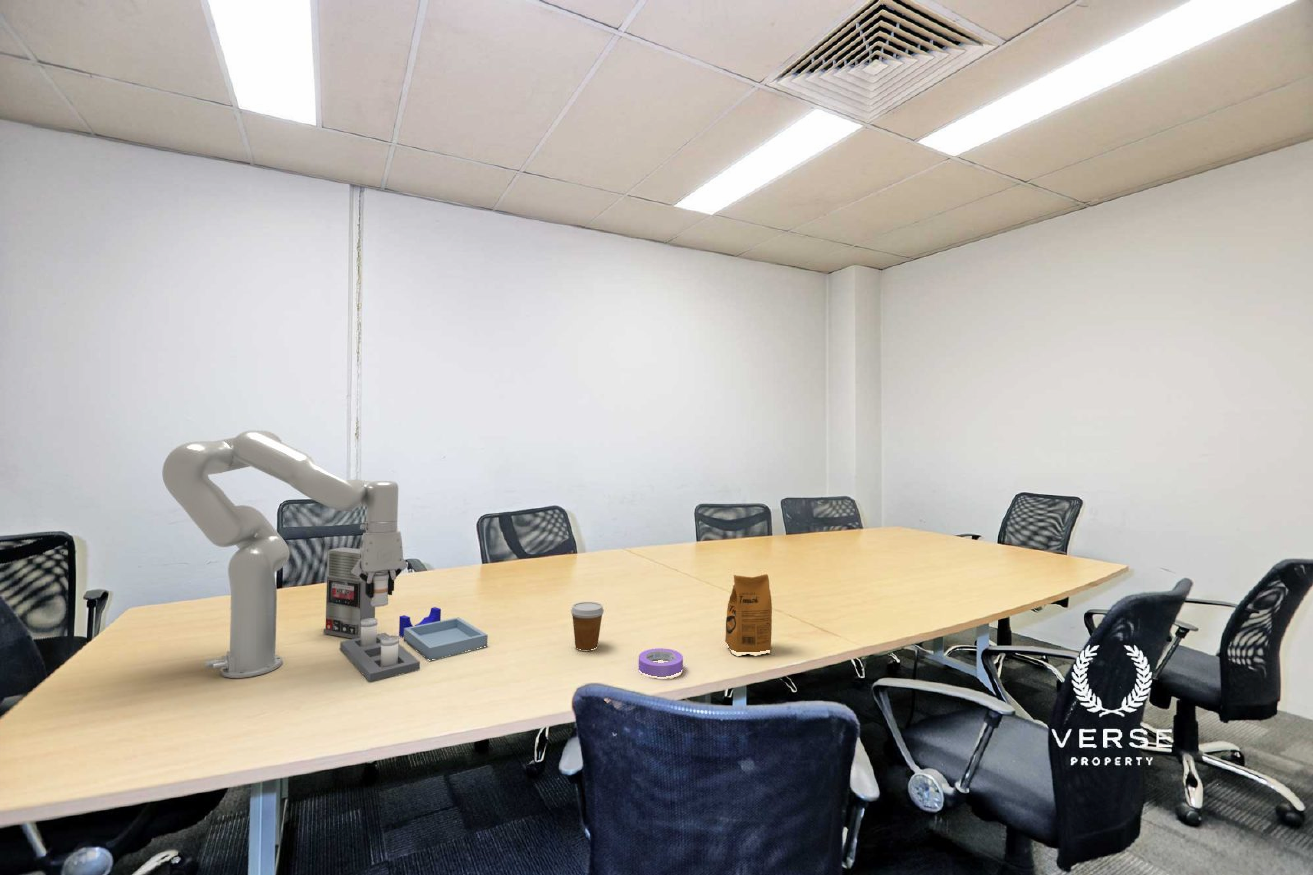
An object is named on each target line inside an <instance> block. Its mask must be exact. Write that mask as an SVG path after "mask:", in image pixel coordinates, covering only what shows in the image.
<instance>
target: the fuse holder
mask: <svg viewBox="0 0 1313 875" xmlns="http://www.w3.org/2000/svg"><path fill="white" fill-rule="evenodd" d="M386 636H390V635H389V634H388V633H387V632H382V633H377V642H376V643H377V644H373V645H369V646H364V647H360V642H361V638H356V639H353V638H350V639H347V640H342V641H340V642H339V644H340V646H339V647H340V648H339V649H340V650H341V651H342V653H343V654H344V655H345V656H346V657H347V659H348V660H349V661H351V663H352V664H353V665H354V664H355V665H354V666H355V668H357V670H360V671H359V672H360V673H361V674H362V673H363V674H362V675H363V676H364V677H365V679H366V680H367V679H368V680H367V681H368V682H369V683H372V682H377V681H380V679H381V680H385V679H389V678H392V676H393V677H397V676H399V674H401V675H403V674H402V673H405V674H408V672H409V673H411V672H412V671H413V672H416V671H415V670H417V671H419V670H418V669H421V666H420V665H421V661H419V660H418V659H417V658H416V657H415V656H413V655H412V654H411V653H410V652H409V651H408V650H407V649H406V648H404V647H403V646H402V645H401V644H400V643H398V664H396V665H392V666H388V667H384V668H380V665H381V638H383V637H386ZM373 655H375V656H373ZM370 656H371V657H370ZM413 672H412V673H413ZM396 675H397V676H396ZM384 678H385V679H384Z"/></svg>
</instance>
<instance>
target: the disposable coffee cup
mask: <svg viewBox="0 0 1313 875" xmlns="http://www.w3.org/2000/svg"><path fill="white" fill-rule="evenodd" d="M604 612H605V609H604V607H603V604H601V603H599V602H595V601H582V602H576V603H574V604H573V605H572V607H571V609H570V613H571V616H572V624H573V636H574V644H575V646H576V648H578V649H581V650H591V649H594V648H596V647H597V648H598V646H599V645H598V644H599V638H600V633H601V632H600V631H601V624H602V618H603V617H602V616H603V614H604ZM576 648H575V649H576Z"/></svg>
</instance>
